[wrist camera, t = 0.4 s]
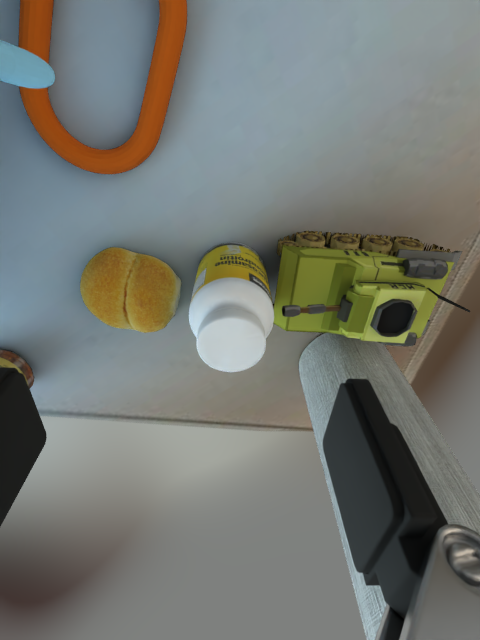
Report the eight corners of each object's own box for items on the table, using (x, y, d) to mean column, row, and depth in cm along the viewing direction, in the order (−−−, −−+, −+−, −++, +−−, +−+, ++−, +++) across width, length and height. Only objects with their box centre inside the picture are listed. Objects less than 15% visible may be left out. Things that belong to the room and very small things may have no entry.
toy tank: (275, 224, 30) (293, 273, 21) (436, 234, 30) (514, 285, 22) (264, 305, 34) (276, 371, 26) (405, 312, 35) (460, 378, 27)
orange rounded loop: (9, 143, 24) (20, -175, 16) (21, 140, 25) (37, -153, 18) (143, 196, 26) (207, -62, 19) (148, 191, 28) (209, -51, 20)
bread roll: (87, 236, 30) (69, 253, 26) (187, 259, 31) (182, 278, 28) (85, 312, 34) (70, 335, 31) (173, 330, 35) (167, 353, 32)
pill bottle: (279, 272, 32) (300, 347, 22) (231, 312, 34) (231, 395, 25) (231, 224, 29) (232, 285, 20) (183, 271, 32) (162, 346, 22)
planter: (399, 331, 36) (679, 711, 14) (366, 395, 42) (528, 744, 19) (311, 320, 35) (456, 713, 13) (288, 388, 41) (362, 748, 18)
